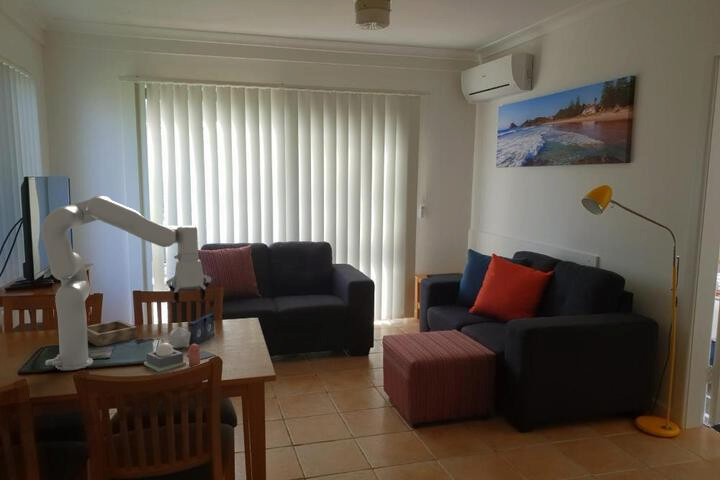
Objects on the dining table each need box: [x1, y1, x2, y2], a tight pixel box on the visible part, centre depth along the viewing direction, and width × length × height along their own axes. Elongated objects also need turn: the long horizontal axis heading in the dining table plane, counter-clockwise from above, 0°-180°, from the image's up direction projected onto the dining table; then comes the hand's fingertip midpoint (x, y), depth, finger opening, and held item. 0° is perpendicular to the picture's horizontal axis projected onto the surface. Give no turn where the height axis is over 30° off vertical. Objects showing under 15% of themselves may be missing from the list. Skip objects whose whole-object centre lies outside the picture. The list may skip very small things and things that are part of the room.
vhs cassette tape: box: [188, 313, 216, 347], centre depth 240 cm, size 18×3×10 cm, turn 166°
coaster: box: [186, 350, 216, 361], centre depth 219 cm, size 8×8×1 cm
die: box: [168, 326, 191, 349], centre depth 229 cm, size 8×9×10 cm
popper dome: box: [155, 342, 173, 357], centre depth 208 cm, size 6×6×6 cm
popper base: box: [143, 348, 187, 373], centre depth 209 cm, size 11×11×4 cm
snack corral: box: [87, 319, 138, 347], centre depth 241 cm, size 17×17×5 cm
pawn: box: [188, 344, 201, 368], centre depth 208 cm, size 4×4×8 cm
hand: (189, 300), depth 217 cm, fingers open, 9 cm apart
